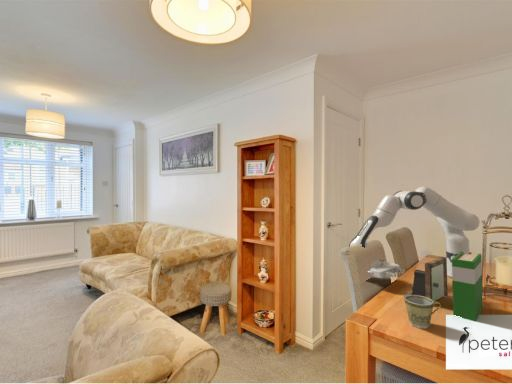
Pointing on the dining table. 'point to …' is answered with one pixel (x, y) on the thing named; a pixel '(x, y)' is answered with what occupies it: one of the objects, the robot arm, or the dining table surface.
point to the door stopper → (419, 283)
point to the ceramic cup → (420, 310)
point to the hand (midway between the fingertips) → (399, 273)
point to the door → (437, 282)
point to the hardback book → (467, 285)
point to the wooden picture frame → (429, 275)
